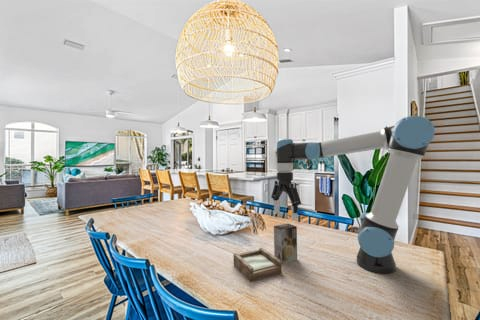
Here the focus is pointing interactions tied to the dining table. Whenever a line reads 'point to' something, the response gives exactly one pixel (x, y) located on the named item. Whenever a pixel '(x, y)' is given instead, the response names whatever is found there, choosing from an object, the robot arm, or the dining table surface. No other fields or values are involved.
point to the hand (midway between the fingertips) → (285, 216)
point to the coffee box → (285, 242)
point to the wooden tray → (257, 264)
